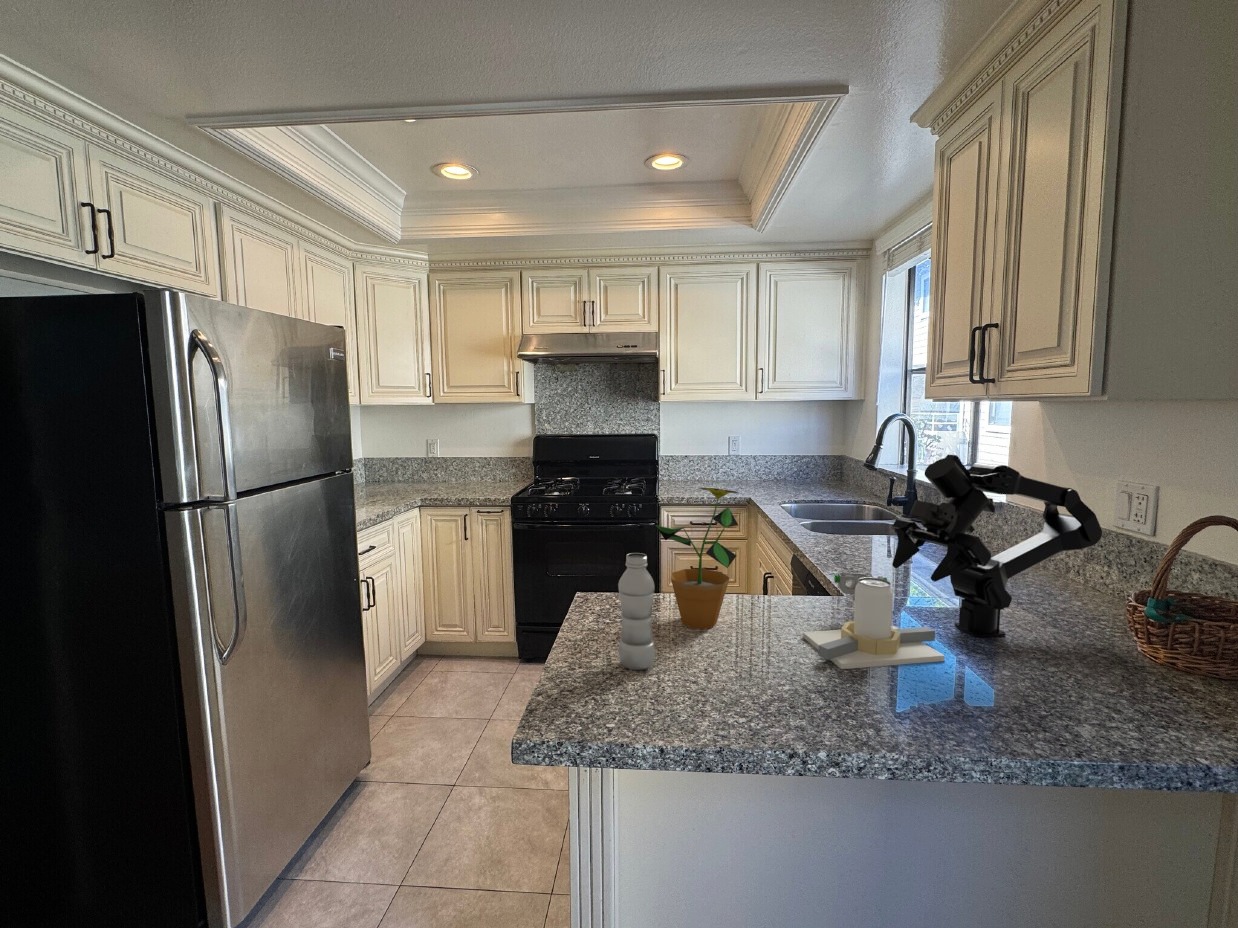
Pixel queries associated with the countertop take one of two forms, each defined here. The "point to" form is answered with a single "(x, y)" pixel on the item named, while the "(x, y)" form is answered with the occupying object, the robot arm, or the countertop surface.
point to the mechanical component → (850, 589)
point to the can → (873, 608)
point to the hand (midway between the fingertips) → (912, 573)
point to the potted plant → (702, 574)
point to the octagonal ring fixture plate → (874, 647)
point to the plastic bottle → (636, 614)
